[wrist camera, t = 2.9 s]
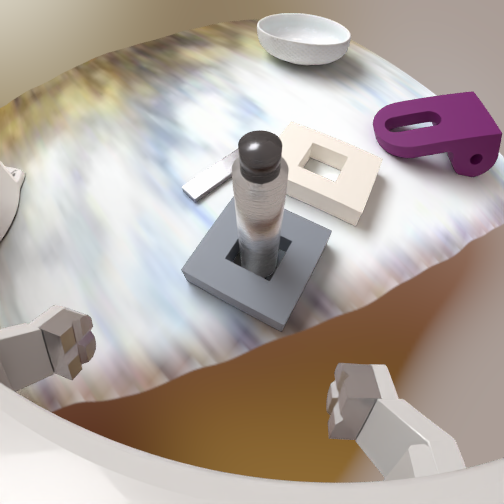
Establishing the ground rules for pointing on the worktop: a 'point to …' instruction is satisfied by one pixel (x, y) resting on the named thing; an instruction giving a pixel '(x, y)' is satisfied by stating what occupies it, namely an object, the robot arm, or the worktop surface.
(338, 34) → the cereal bowl
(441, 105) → the mounting bracket
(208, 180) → the bar
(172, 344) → the worktop surface
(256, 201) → the capped cylinder peg
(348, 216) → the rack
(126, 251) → the worktop surface
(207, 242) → the socket
